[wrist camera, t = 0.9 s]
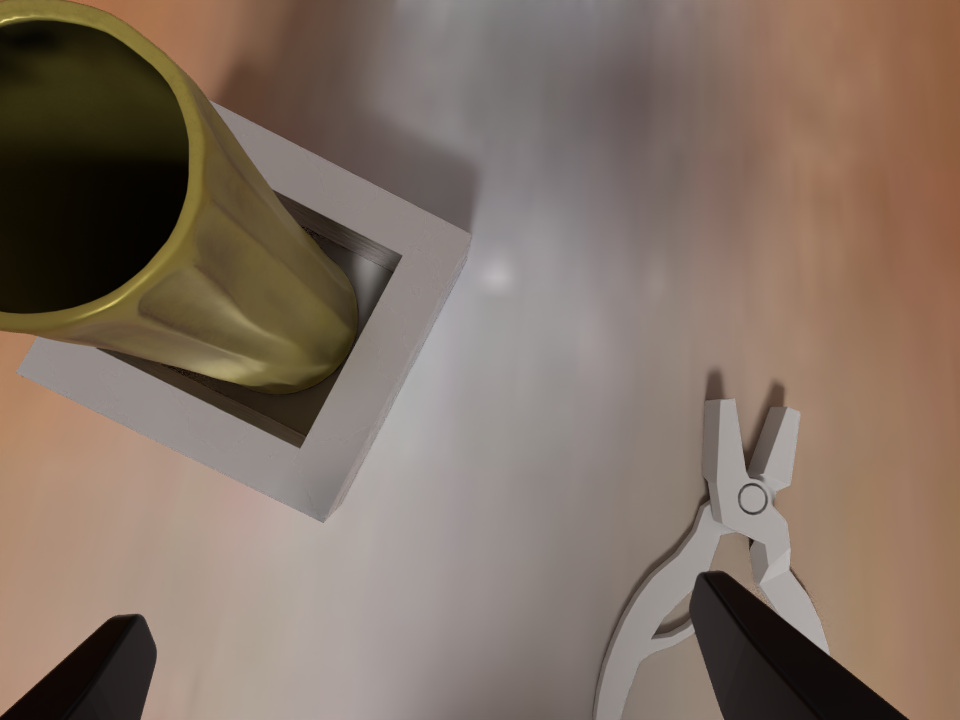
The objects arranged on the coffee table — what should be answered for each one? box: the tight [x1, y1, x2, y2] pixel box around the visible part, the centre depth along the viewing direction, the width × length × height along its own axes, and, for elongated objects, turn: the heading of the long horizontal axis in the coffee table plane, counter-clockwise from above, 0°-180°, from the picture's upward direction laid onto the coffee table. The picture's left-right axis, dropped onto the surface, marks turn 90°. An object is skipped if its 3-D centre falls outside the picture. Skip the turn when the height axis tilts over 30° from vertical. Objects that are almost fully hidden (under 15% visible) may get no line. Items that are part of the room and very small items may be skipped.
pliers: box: [593, 398, 830, 720], centre depth 23 cm, size 10×2×15 cm
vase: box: [0, 0, 358, 394], centre depth 15 cm, size 6×6×14 cm
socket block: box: [16, 100, 472, 523], centre depth 21 cm, size 11×11×4 cm
